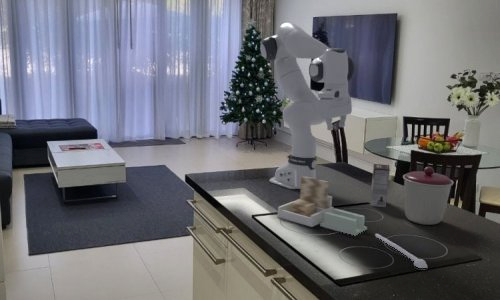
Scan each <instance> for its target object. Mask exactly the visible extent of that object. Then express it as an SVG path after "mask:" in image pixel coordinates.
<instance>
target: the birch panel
mask: <svg viewBox="0 0 500 300" xmlns="http://www.w3.org/2000/svg"><path fill="white" fill-rule="evenodd" d="M329 183H330V181H328V180H323V179H319V178H316V179H315V178H311V177H306V176H302V177H301V189H299V190H300V193H299V199H300V200H303V201H307V202H311V203H315V206H316V207H320V208H324V209H327V199H328V196H329V187H330V184H329Z"/></svg>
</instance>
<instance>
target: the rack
mask: <svg viewBox="0 0 500 300" xmlns="http://www.w3.org/2000/svg"><path fill="white" fill-rule="evenodd" d="M298 200H300V198H297V199H296V200H294V201H293V200H292V201H290V202H287V203H284V204H283V205H279V206H277V218H279V219H284V220H286V221H291V222H293V223H297V224H300V225H303V226H307V227H311V228H312V227H315V226H317V225H320V223H322V222H324V213H326V212H330V213H332V209H335V208H334V206H332V204H333V203H332V202H333V196H332V195H328V199H327V209H324V208H320V207H316V206H315V214H313V215H311V216H310V217H307V216H304V215H300V214H297V213H293V212H292V203H293V202H295V201H298Z"/></svg>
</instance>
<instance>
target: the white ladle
mask: <svg viewBox="0 0 500 300" xmlns="http://www.w3.org/2000/svg"><path fill="white" fill-rule="evenodd" d="M374 235H375V238H377V239H378V238H379V240H380V239H381V240H382V241H381V240H380V241H381V242H383V241H384V242H385V243H387V244H388V245H387V244H386V245H387V246H389V245H390V246H392V247H394V248H395V249H397V250H398V251H400V252H401V253H403V254H404V255H406V256H407V257H408V258H407V257H406V256H405V257H406V258H407V259H409V258H410V259H411V260H410V259H409V260H410V261H412V262H413V261H414V262H413V265H414V267H415V266H416V267H418V268H427V269H428V264H427V262H426V260H424V259H423V258H418V257H417V256H416V255H414V254H412V253H410V251H409V252H408V251H407V250H406V249H404V248H403V247H401V246H400V245H399V244H396V243H394V242H393V241H391V240H390V239H388V238H386V237H384V236H382V235H381V234H379V233H375V234H374ZM384 242H383V243H384ZM385 243H384V244H385ZM390 246H389V247H390ZM392 247H391V248H392ZM394 248H393V249H394ZM395 249H394V250H395ZM397 250H396V251H397ZM398 251H397V252H398ZM400 252H399V253H400ZM401 253H400V254H401ZM403 254H402V255H403ZM404 255H403V256H404ZM416 267H415V268H416ZM418 268H417V269H418Z"/></svg>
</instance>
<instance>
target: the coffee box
mask: <svg viewBox="0 0 500 300" xmlns="http://www.w3.org/2000/svg"><path fill="white" fill-rule="evenodd" d="M372 170H373V171H372V180H371V188H370V189H371V190H370V206H371V207H379V208H380V207H381V208H386V206H387V199H388V198H387V197H388V188H389V182H390V181H389V179H390V170H391V169H390V165H389V164H379V163H373V167H372Z"/></svg>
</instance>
